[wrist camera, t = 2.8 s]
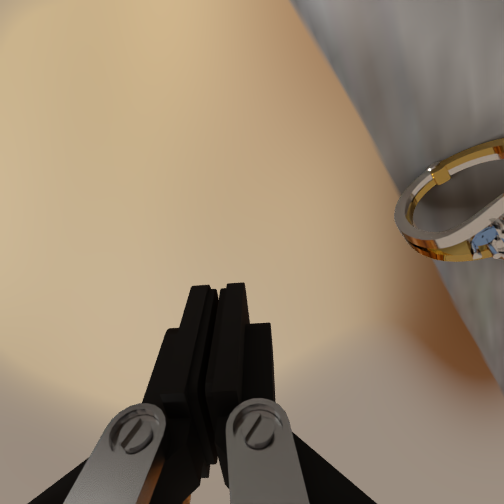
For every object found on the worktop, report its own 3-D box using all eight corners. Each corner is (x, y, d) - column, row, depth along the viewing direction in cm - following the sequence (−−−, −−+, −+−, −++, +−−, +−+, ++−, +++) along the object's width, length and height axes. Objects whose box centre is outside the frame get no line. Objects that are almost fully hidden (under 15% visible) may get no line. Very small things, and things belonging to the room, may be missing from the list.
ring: (390, 222, 21) (451, 304, 15) (366, 183, 20) (420, 254, 13) (505, 155, 19) (641, 216, 12) (486, 107, 18) (626, 144, 11)
